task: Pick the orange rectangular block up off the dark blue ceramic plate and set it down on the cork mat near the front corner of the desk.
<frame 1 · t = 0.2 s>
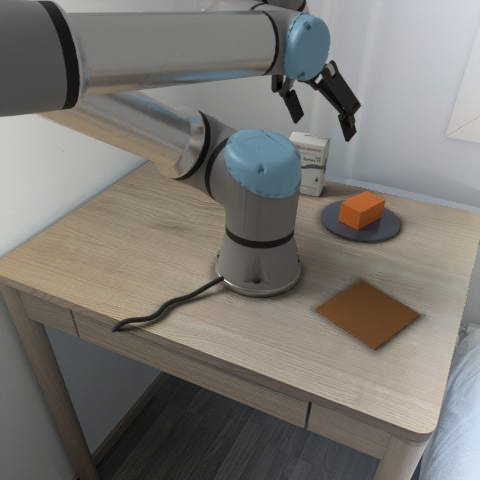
hand: (324, 127, 99), 15 cm above the table, tool tilted 30°, fingers open, 13 cm apart
ink box: (302, 190, 112), on the table
orange rectangular block: (360, 218, 101), point 1 cm above the table, touching plate
cork mat: (367, 313, 81), on the table
plate: (359, 221, 102), on the table
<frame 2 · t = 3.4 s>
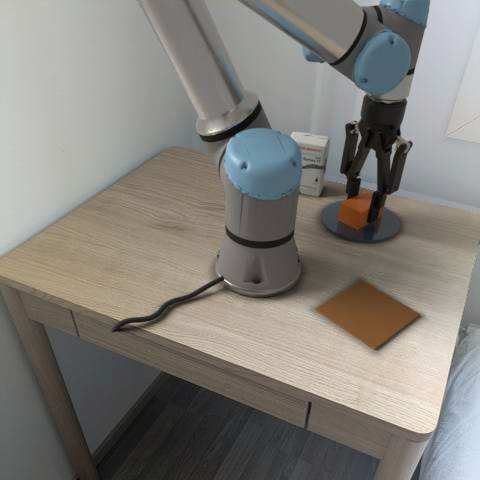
hand: (361, 214, 101), 2 cm above the table, tool pointing down, fingers closed on orange rectangular block, 5 cm apart
orange rectangular block: (360, 218, 101), point 1 cm above the table, touching gripper, plate
everything else where it was.
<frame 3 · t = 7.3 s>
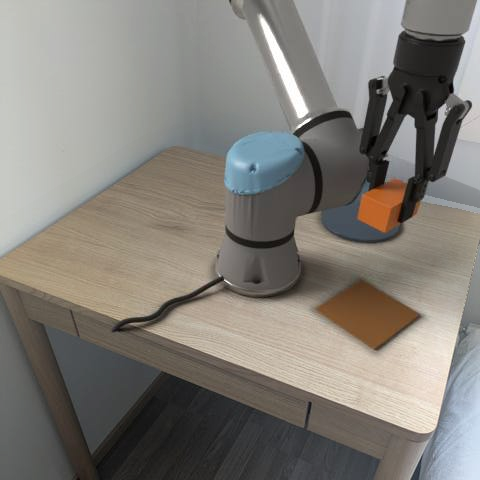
hand: (388, 211, 72), 17 cm above the table, tool pointing down, fingers closed on orange rectangular block, 5 cm apart
orange rectangular block: (387, 216, 73), point 16 cm above the table, touching gripper
everything else where it was.
when the fingers open (1 cm above the table, at t = 11.3 s): orange rectangular block stays where it is, resting on cork mat.
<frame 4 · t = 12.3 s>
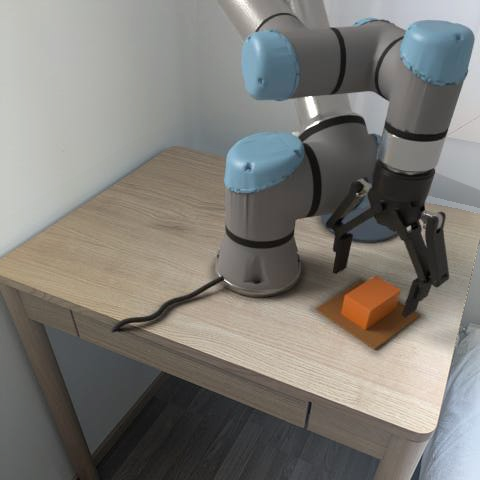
hand: (372, 290, 78), 5 cm above the table, tool pointing down, fingers open, 13 cm apart
orange rectangular block: (368, 311, 80), resting on cork mat
everything else where it was.
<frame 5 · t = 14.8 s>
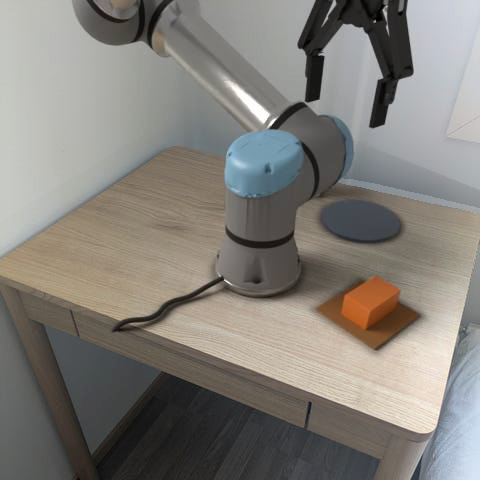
hand: (342, 112, 77), 26 cm above the table, tool pointing down, fingers open, 13 cm apart
nothing on the table moved.
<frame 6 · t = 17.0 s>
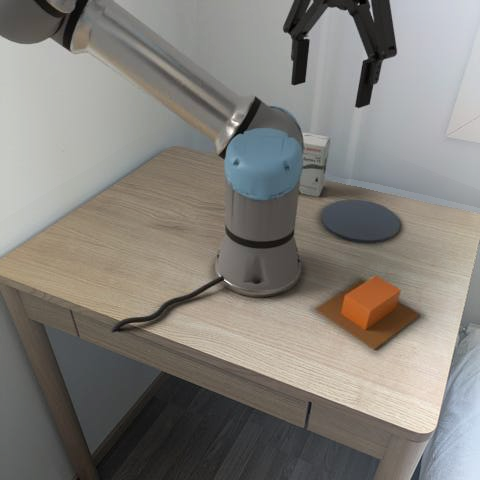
hand: (328, 94, 80), 27 cm above the table, tool pointing down, fingers open, 13 cm apart
nothing on the table moved.
at the end: orange rectangular block inside the target area on the cork mat (0.1 cm from its centre), point 0.4 cm above the cork mat's base; orange rectangular block touching cork mat; the gripper is holding nothing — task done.
